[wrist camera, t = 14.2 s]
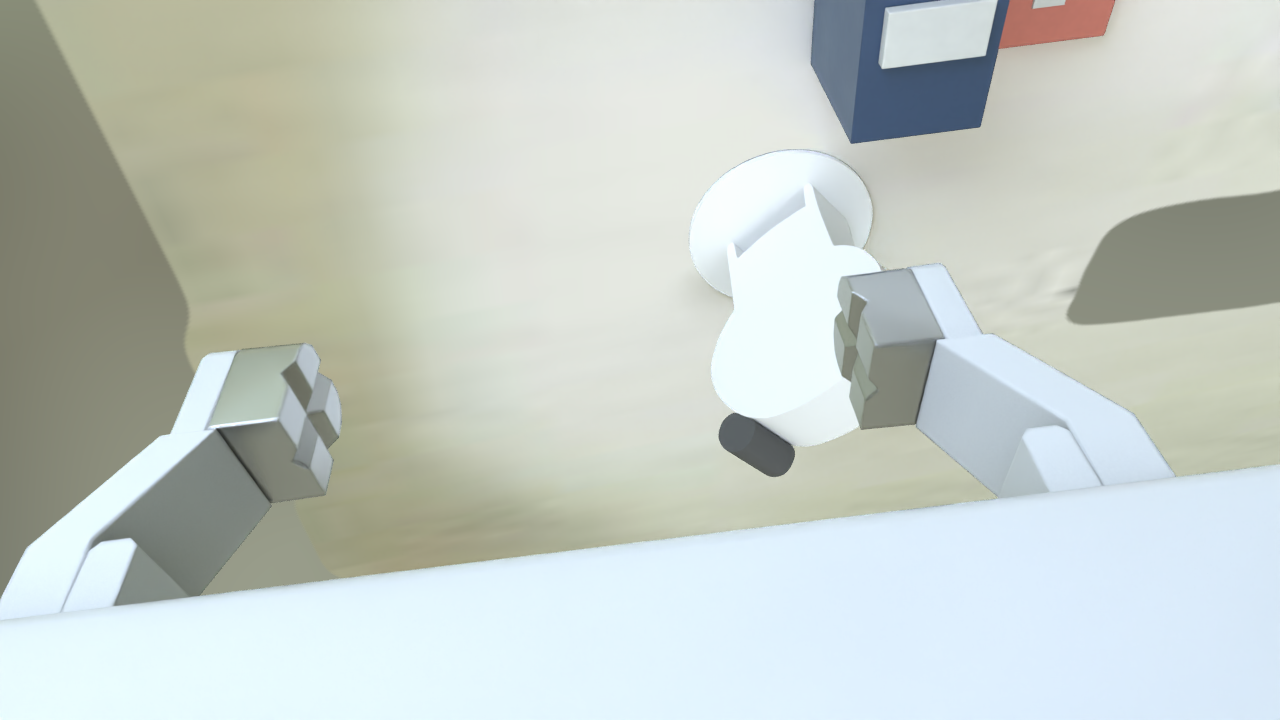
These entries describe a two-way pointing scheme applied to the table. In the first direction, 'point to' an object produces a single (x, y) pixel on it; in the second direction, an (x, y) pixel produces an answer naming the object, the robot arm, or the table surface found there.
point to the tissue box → (906, 63)
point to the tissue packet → (1054, 21)
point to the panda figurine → (782, 298)
